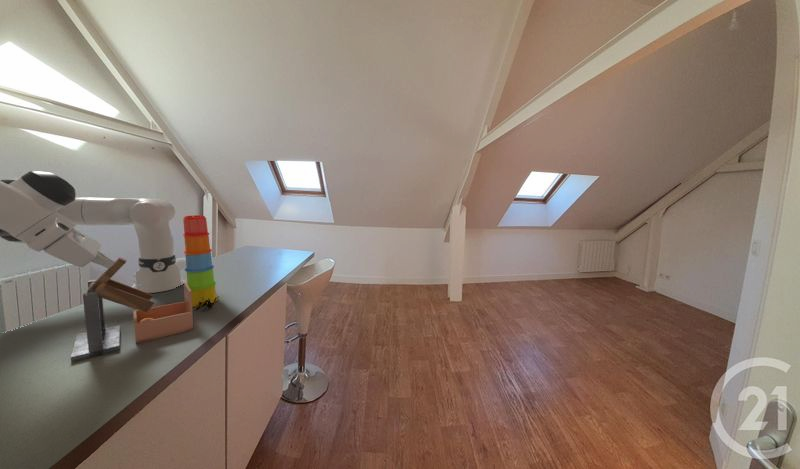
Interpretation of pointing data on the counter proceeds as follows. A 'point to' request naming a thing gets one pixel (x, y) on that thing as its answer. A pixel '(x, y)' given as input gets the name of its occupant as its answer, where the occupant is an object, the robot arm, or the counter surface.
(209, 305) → the creature
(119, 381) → the counter surface
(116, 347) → the lever stand
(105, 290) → the lever
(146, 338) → the cup
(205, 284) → the stacking cups
